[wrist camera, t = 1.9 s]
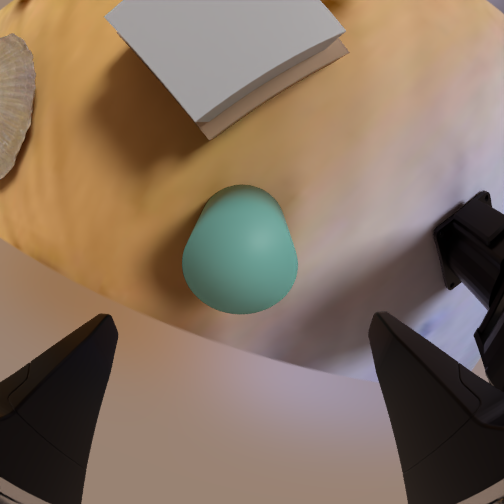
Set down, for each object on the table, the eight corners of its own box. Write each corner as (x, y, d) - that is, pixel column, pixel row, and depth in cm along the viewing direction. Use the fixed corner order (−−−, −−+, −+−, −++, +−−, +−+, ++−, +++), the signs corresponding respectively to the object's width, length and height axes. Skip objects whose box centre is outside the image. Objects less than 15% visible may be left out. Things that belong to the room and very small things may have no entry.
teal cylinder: (300, 234, 16) (318, 279, 12) (234, 275, 18) (229, 329, 13) (251, 167, 14) (252, 189, 10) (183, 217, 16) (159, 258, 11)
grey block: (325, 49, 9) (346, 30, 7) (208, 121, 11) (195, 121, 8) (242, -37, 7) (240, -67, 4) (132, 33, 9) (103, 16, 6)
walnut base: (331, 63, 12) (349, 52, 9) (217, 136, 14) (209, 140, 11) (248, -27, 9) (247, -51, 6) (138, 44, 11) (116, 32, 8)
